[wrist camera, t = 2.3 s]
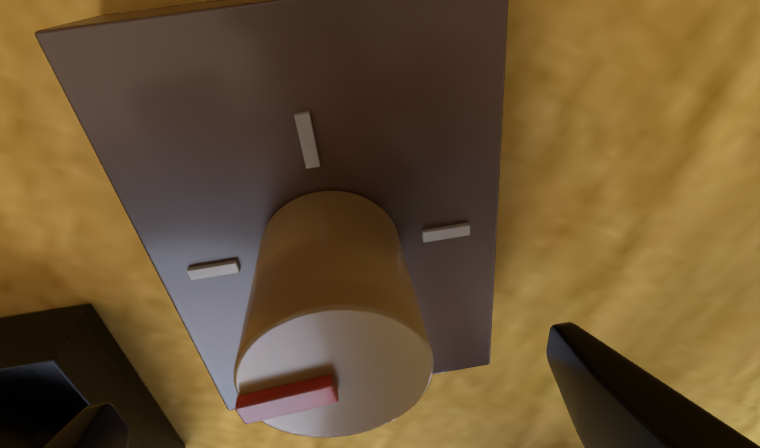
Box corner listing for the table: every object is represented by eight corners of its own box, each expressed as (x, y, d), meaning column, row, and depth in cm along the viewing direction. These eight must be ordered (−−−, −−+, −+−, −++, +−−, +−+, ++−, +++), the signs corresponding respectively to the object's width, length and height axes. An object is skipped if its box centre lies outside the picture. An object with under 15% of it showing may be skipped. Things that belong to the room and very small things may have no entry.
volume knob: (385, 174, 11) (423, 295, 7) (409, 285, 13) (448, 427, 9) (238, 208, 11) (191, 350, 7) (286, 314, 13) (272, 468, 9)
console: (466, 309, 18) (491, 368, 16) (240, 348, 18) (226, 415, 15) (468, -34, 11) (514, -33, 9) (97, 15, 11) (26, 32, 8)
